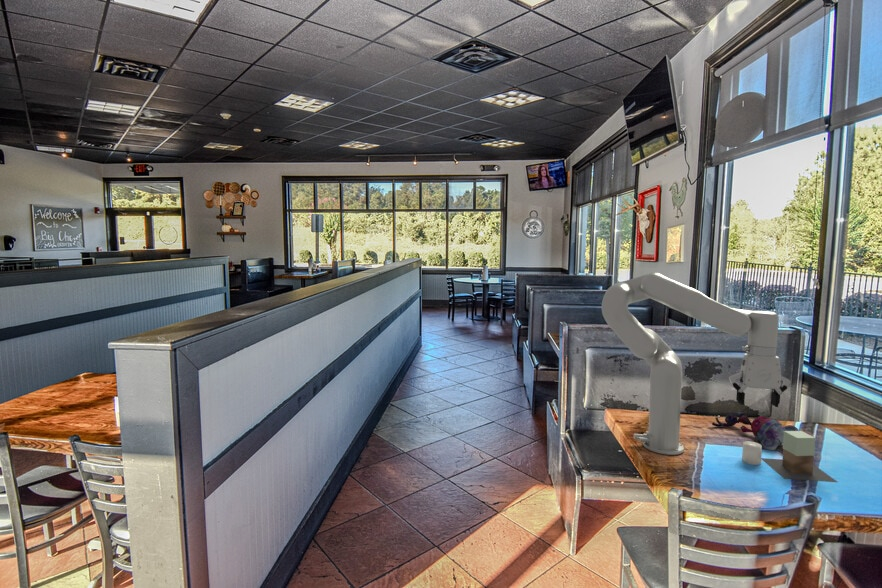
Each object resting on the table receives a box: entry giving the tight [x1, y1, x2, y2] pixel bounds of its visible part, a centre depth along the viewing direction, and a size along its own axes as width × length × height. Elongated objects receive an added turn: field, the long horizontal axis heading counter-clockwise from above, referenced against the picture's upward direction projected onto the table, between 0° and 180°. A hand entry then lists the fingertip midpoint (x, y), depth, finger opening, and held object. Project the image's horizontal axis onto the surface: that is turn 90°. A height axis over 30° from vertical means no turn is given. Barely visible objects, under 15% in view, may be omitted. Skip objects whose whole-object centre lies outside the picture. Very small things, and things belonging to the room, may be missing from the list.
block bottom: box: [782, 449, 815, 474], centre depth 145 cm, size 6×6×6 cm
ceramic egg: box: [741, 440, 763, 466], centre depth 151 cm, size 5×5×6 cm
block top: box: [782, 430, 817, 457], centre depth 145 cm, size 6×6×6 cm
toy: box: [711, 411, 811, 452], centre depth 168 cm, size 16×9×30 cm
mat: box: [761, 457, 838, 483], centre depth 145 cm, size 14×14×1 cm
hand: (757, 404), depth 150 cm, fingers open, 9 cm apart
